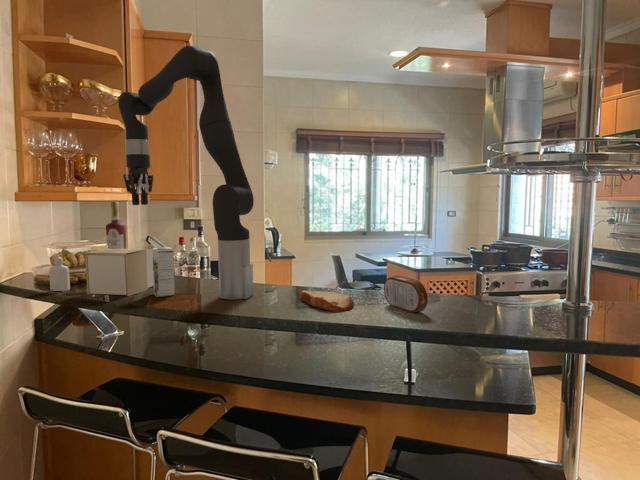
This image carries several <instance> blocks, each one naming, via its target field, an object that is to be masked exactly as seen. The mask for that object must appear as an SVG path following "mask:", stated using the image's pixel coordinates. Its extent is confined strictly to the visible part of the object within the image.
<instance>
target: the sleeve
mask: <svg viewBox="0 0 640 480" xmlns="http://www.w3.org/2000/svg"><path fill="white" fill-rule="evenodd" d="M146 249H147V248H126V249H108V248H104V249H96V250H92V251H86V252H84V258H85V274H86V289H87V290H86V291H87V292H86V293H87V295H91V293H90V290H89V273H88V257H87V255H91V254H102V255H125V262H126V281H127V295H126V296H127V297H130V296H133V295H136V294H139V293H142V292H145V291H148V290H149V288H148V281H147V260H146Z"/></svg>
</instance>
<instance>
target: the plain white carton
mask: <svg viewBox="0 0 640 480" xmlns="http://www.w3.org/2000/svg"><path fill="white" fill-rule="evenodd" d="M145 249H146V260H147V281H148V289H149V288H151V287H154V284H153V248H150V249H149V248H145ZM87 257H88V273H89V290H90V293H91V294H92V295H93V294H97V295H114V296H115V295H117V296H120V295H121V296H127V281H126V262H125V255H102V254H91V255H87ZM91 294H90V295H91Z"/></svg>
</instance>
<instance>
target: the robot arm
mask: <svg viewBox="0 0 640 480" xmlns="http://www.w3.org/2000/svg"><path fill="white" fill-rule="evenodd" d="M183 79H188V80H194V81H199V84H200V85H201V89H202V92H203V98H204V99H203V105H202V107H201V108H202V109H201V111H200V112H201V113H200V114H199V119H198V120H199V121H198V123H199V124H198V125H199V129H200V130H199V131H200V134H201V138H202V142H203V143H204V147H205V149H206V151H207V152H208V154H209V155H210V156H211V158H212V159H213V161H214V162H215V163H216V165H217V166H218V168H219V169H220V171H221V173H222V175H223V179H224V181H225V184H220V185H219V186H217V188H215V190H214V192H213V197H212V211H213V223H214V224H213V225H214V230H215V232H216V234H217V255H218V257H217V258H218V260H217V261H218V284H219V287H218V288H219V289H218V291H219V298H220V299H223V300H232V301H233V300H247V299H248V298H250V297H252V296H253V295H254V268H253V266H254V265H253V263H251V250H250V249H251V246H250V230H249V229H248V228H247V227H245V226H243V225H242V223H241V218H240V216H245V215H248V214H249V213H250V212H251V211H252V210H253V208H254V203H255V202H254V201H255V200H254V199H255V198H254V195H253V194H254V193H253V191H252V188H251V185H250V183H249V180H248V176H247V174H246V172H245V169H244V166H243V163H242V160H241V156H240V152H239V149H238V146H237V142H236V138H235V134H234V133H235V132H234V129H233V125H232V122H231V119H230V115H229V112H228V109H227V104H226V100H225V96H224V95H225V94H224V89H223V85H222V79H221V72H220V67H219V61H218V60H217V57H216V55H215V53H213V52H212V51H210V50H208V49H206V48H202V47H198V46H194V45H186V46H184V47H182V48H180V49H179V50H178V52H176V53H175V54H174V55H173V57H171V59H170V60H169V61H168V62H167V63H166V64H165V66H163V68H162V69H161V70H160V71H159V72H158V73H157V74H155V76H152V78H150V79H149V80H148V81H146V82H145V83H143V84H142V85H141V86H140V87H139V89H138V91H137V93H136V92H132V91H122V93H121V94H120V95H119V98H118V109H119V113H120V115H121V119H122V122H123V125H124V128H125V160H126V162H125V163H126V164H125V165H126V168H127V169H129V172H128V173H124V174H123V176H122V177H123V181H124V185H125V188H126V191H127V192H128V193H130V194H131V202H132V205H133V206H139V205H140V204H141V205H142V206H147V205H149V197H148V195H149V193H151V192H152V190H153V184H154V175H153V174H152V175H151V174H149V172H148V169H150V168H151V156H150V155H151V153H150V144H149V130H148V128H149V127H148V125H147V124H146V123H144V122H143V121H140V120H139V119H138V116H141V117H142V116H143V117H144V116H148V115H150V114H151V113H152V112H153V110H154V109H155V107H156V106H157V105H158V103H160V102H162V101H164V100H165V99H166V98H168V97H169V96H170V95H171V94H172V92H173V90H174V86H175V83H177V82H179V81H181V80H183Z"/></svg>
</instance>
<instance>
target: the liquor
mask: <svg viewBox="0 0 640 480" xmlns="http://www.w3.org/2000/svg"><path fill="white" fill-rule="evenodd" d="M110 207H111V222H110V223H107V224H105V233H106V234H105V236H106V243H107V249H127V225H126V224H125V223H123V222H121V220H120V213H119V201H110Z"/></svg>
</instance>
